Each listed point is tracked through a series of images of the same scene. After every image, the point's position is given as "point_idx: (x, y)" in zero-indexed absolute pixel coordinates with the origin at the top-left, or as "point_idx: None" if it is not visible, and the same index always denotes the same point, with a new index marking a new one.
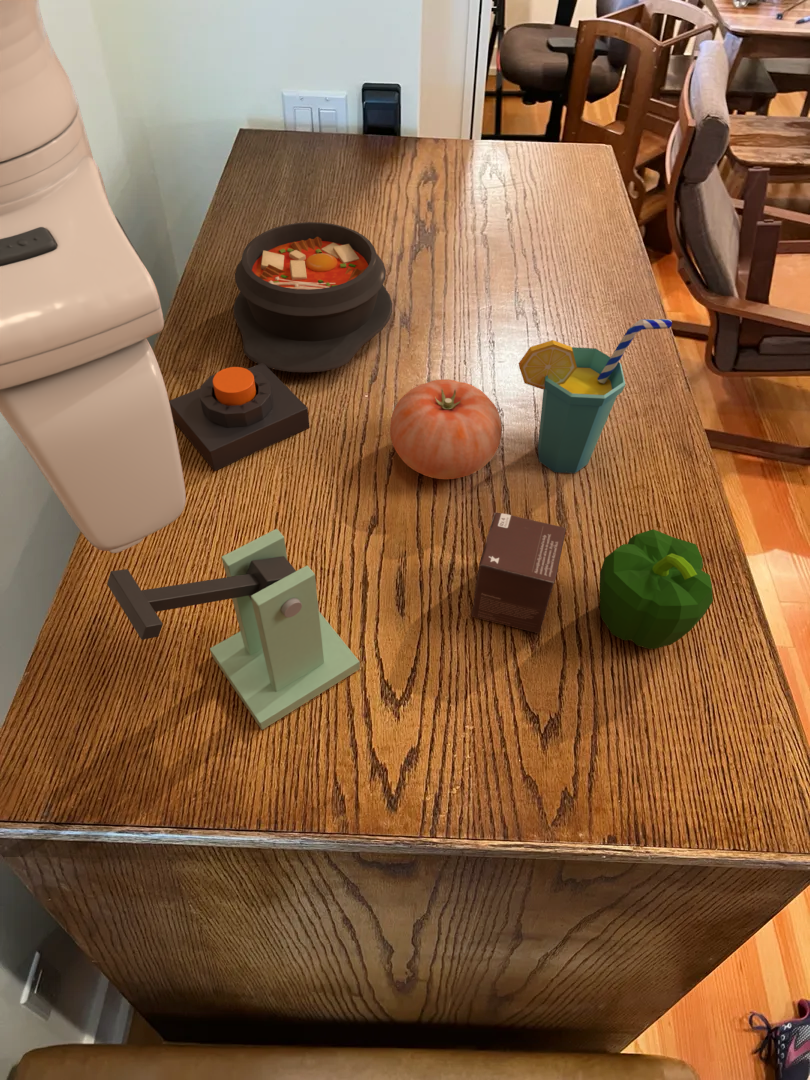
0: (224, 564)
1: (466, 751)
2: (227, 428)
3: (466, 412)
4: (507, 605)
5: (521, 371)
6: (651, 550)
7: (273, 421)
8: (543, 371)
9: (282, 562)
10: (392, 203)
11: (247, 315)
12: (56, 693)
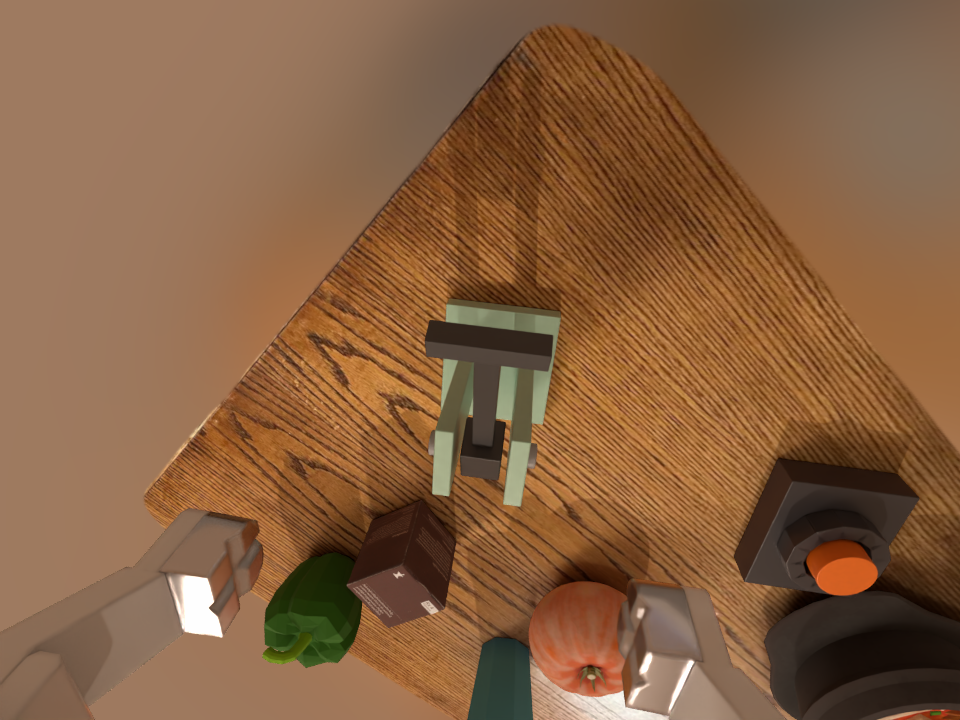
0: (524, 436)
1: (319, 411)
2: (804, 514)
3: (564, 674)
4: (388, 533)
5: None
6: (322, 647)
7: (762, 549)
8: None
9: (487, 475)
10: None
11: (947, 634)
12: (657, 146)
